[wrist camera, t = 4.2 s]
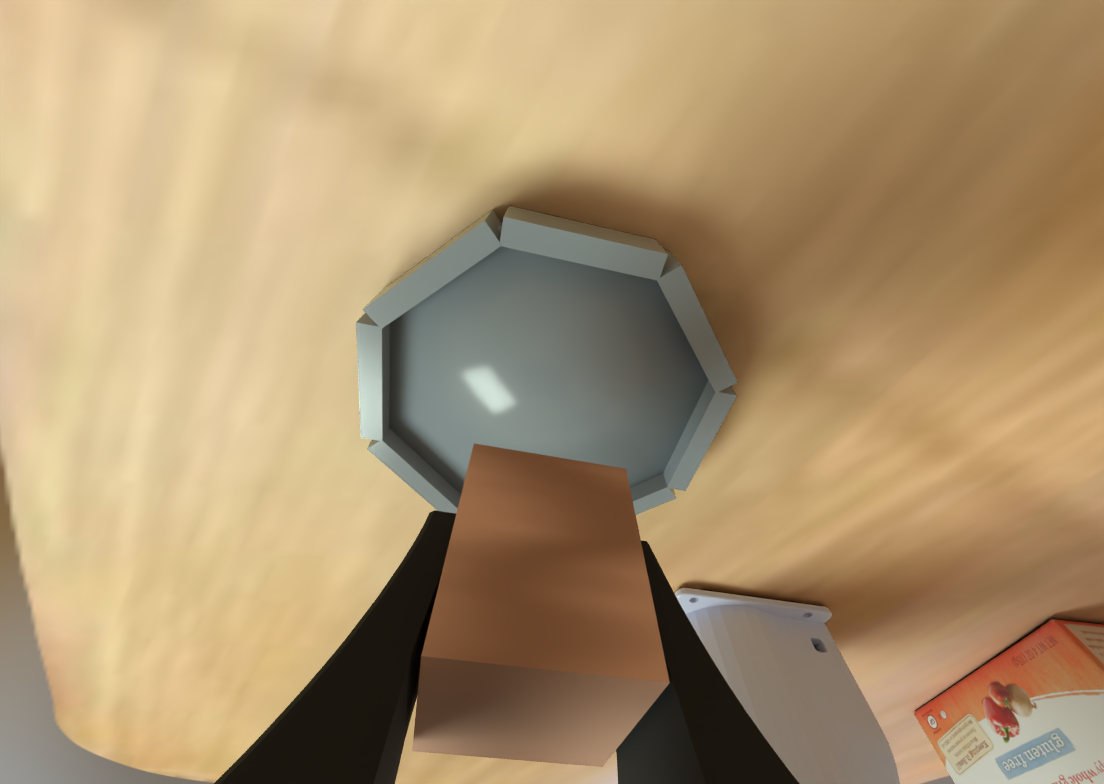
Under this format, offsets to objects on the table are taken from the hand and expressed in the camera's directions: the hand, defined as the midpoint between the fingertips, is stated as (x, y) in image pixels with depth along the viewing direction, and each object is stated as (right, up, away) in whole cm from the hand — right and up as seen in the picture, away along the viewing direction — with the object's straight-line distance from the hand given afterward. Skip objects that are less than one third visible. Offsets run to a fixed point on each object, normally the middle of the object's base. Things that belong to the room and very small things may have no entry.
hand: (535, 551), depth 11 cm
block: (0, +1, +1) cm, 2 cm away
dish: (0, +4, +6) cm, 8 cm away
